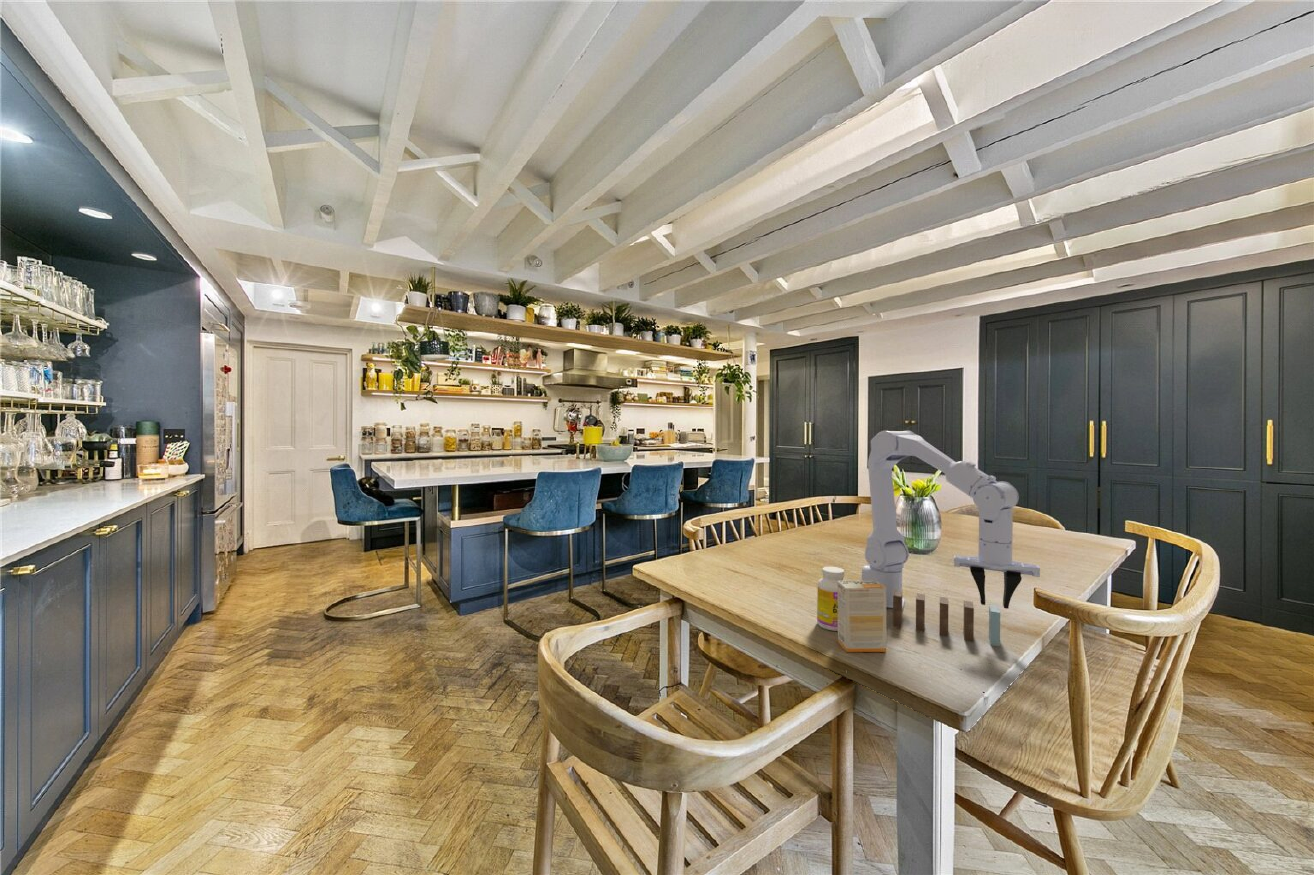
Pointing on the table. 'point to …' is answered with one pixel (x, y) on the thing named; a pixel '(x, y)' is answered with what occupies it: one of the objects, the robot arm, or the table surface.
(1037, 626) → the table surface
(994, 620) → the teal domino
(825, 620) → the supplement bottle
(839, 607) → the supplement box
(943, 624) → the domino
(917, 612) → the domino
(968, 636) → the domino
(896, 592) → the domino
